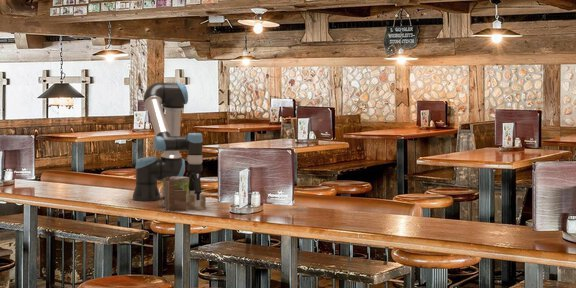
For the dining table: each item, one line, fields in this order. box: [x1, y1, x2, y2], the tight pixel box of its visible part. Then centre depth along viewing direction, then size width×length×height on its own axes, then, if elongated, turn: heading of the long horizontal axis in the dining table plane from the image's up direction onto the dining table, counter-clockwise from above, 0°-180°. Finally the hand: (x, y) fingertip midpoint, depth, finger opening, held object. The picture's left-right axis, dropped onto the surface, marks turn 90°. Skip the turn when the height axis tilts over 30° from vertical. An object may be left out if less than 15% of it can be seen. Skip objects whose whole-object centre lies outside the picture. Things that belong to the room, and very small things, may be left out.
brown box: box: [164, 177, 187, 212], centre depth 450 cm, size 14×8×16 cm, turn 18°
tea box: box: [161, 176, 190, 207], centre depth 466 cm, size 15×10×15 cm
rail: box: [186, 193, 207, 211], centre depth 452 cm, size 16×5×7 cm, turn 108°
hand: (194, 205), depth 453 cm, fingers open, 13 cm apart
